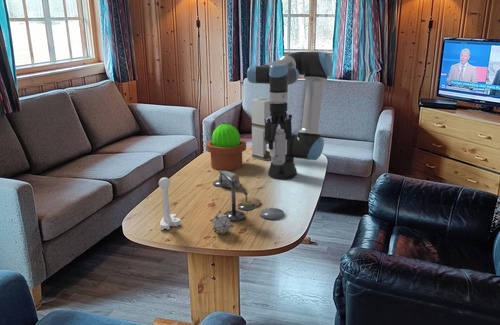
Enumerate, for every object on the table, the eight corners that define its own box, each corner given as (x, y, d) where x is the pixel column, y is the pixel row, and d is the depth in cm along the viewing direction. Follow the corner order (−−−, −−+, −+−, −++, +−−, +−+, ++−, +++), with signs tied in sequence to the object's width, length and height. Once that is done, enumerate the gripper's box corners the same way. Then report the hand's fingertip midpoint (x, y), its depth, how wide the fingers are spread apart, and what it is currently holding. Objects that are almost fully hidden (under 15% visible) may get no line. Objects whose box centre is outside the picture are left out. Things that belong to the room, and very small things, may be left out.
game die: (220, 243, 174) (207, 230, 167) (215, 228, 180) (203, 214, 174) (240, 232, 173) (228, 218, 166) (235, 217, 179) (223, 202, 173)
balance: (209, 210, 195) (207, 170, 190) (226, 205, 200) (225, 166, 195) (243, 230, 176) (242, 185, 171) (261, 224, 181) (260, 180, 176)
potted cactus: (232, 174, 242) (231, 128, 235) (199, 168, 253) (197, 124, 246) (253, 163, 260) (252, 121, 253) (222, 158, 271) (220, 117, 264)
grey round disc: (273, 208, 197) (273, 206, 197) (289, 215, 189) (289, 213, 189) (255, 214, 191) (255, 211, 191) (270, 221, 183) (270, 219, 183)
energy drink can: (268, 163, 198) (268, 129, 193) (279, 160, 201) (280, 127, 196) (276, 166, 193) (276, 132, 188) (287, 164, 196) (288, 130, 191)
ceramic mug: (232, 190, 219) (231, 175, 217) (218, 187, 223) (218, 172, 221) (243, 184, 227) (243, 169, 225) (230, 181, 232) (230, 167, 229)
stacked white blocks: (264, 160, 265) (264, 101, 255) (252, 157, 273) (251, 99, 263) (278, 157, 273) (278, 99, 262) (265, 153, 280) (265, 97, 270)
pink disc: (251, 197, 209) (251, 195, 209) (265, 204, 201) (265, 202, 201) (233, 203, 203) (233, 200, 203) (247, 209, 196) (247, 207, 195)
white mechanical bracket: (166, 218, 188) (162, 173, 182) (183, 219, 187) (181, 173, 181) (157, 230, 177) (154, 182, 171) (176, 231, 176) (173, 182, 171)
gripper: (266, 105, 180) (266, 161, 187) (301, 100, 191) (300, 153, 198) (255, 103, 186) (255, 157, 193) (289, 98, 197) (288, 149, 204)
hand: (278, 154), depth 195 cm, fingers closed on energy drink can, 6 cm apart
